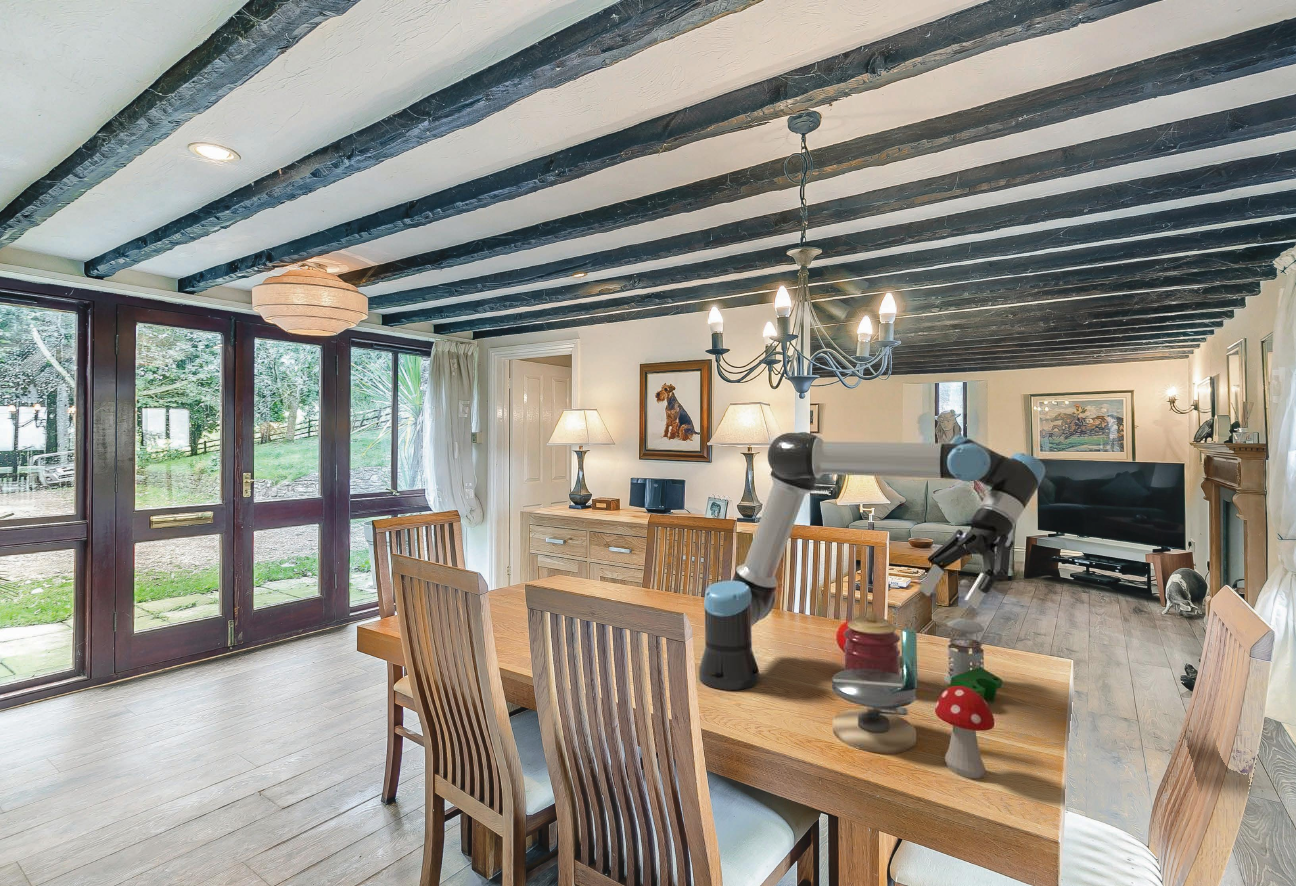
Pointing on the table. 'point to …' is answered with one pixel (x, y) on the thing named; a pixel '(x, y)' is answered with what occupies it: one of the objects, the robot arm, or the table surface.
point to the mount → (874, 732)
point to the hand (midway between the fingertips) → (945, 597)
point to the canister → (872, 644)
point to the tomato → (842, 635)
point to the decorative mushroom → (964, 729)
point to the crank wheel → (882, 683)
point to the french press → (964, 646)
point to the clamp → (979, 682)
